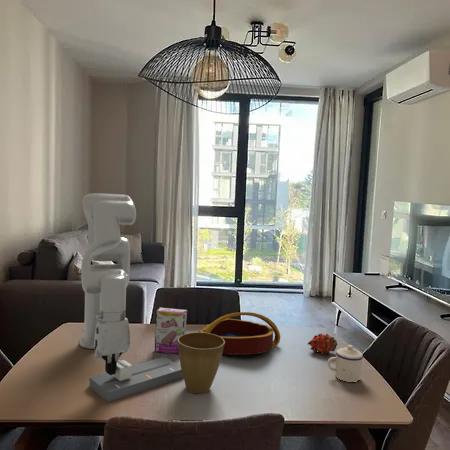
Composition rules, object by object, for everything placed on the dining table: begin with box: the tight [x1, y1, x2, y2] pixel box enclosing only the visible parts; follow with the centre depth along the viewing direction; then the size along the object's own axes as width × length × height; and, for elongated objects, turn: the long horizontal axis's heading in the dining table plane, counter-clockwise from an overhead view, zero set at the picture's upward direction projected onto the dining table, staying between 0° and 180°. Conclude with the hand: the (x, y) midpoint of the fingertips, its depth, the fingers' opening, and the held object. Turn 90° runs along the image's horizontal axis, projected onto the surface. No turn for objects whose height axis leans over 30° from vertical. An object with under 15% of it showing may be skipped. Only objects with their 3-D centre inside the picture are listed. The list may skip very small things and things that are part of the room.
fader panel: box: [88, 356, 184, 403], centre depth 139 cm, size 12×28×3 cm, turn 133°
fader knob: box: [112, 359, 133, 381], centre depth 135 cm, size 5×4×4 cm
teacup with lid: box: [327, 344, 364, 382], centre depth 150 cm, size 12×9×12 cm
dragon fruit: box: [307, 333, 338, 355], centre depth 173 cm, size 8×8×12 cm
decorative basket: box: [198, 311, 281, 355], centre depth 174 cm, size 34×29×15 cm
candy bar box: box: [154, 307, 188, 355], centre depth 165 cm, size 11×5×16 cm, turn 84°
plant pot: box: [178, 331, 225, 395], centre depth 136 cm, size 15×15×16 cm
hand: (110, 373), depth 132 cm, fingers closed
